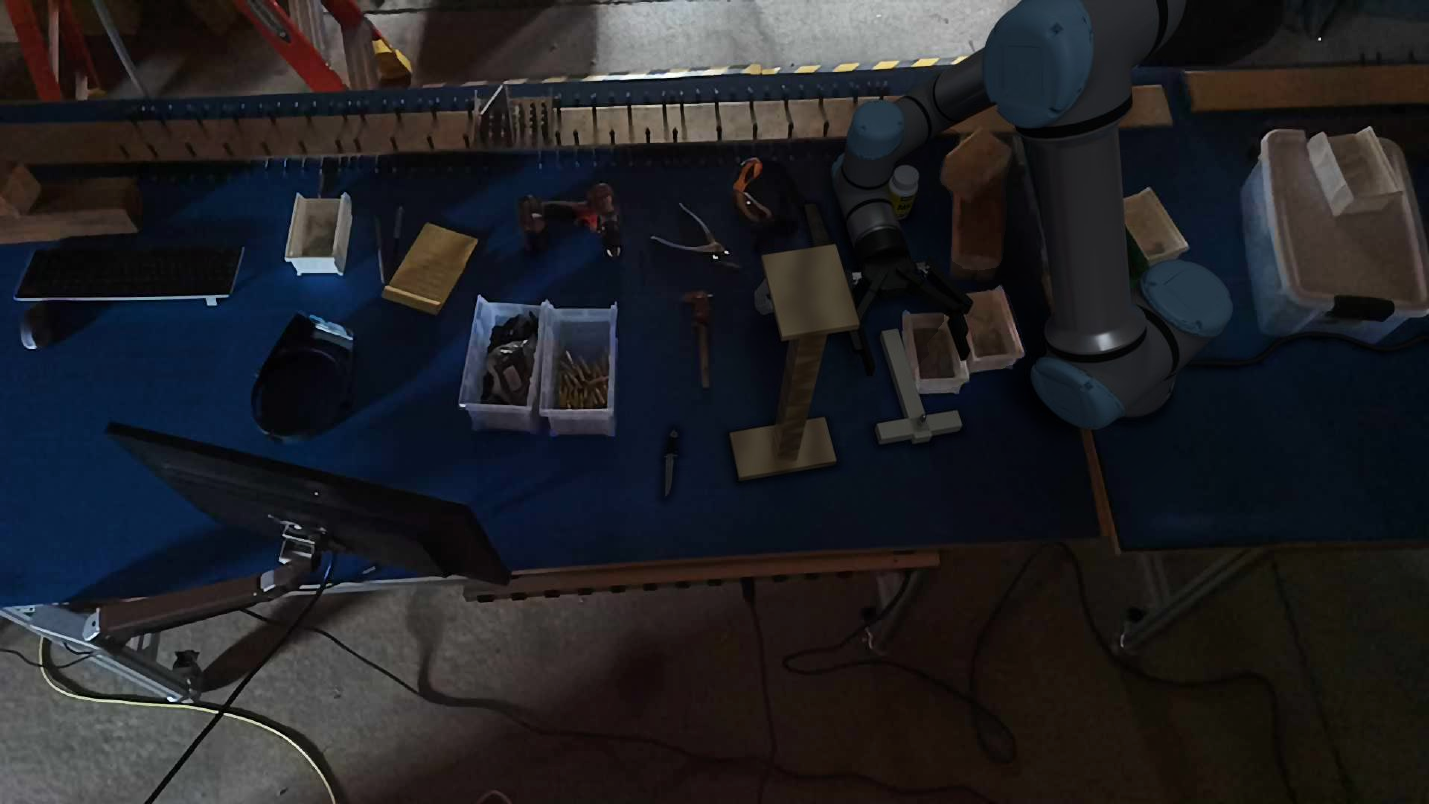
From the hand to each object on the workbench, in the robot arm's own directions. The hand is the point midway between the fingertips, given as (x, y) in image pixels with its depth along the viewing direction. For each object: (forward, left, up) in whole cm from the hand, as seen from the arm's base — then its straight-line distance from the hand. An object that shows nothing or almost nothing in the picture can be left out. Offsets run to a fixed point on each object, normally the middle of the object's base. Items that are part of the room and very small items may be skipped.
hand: (918, 364), depth 120 cm
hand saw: (+5, -24, -9) cm, 27 cm away
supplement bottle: (-8, -33, -9) cm, 36 cm away
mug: (+14, -15, -9) cm, 23 cm away
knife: (+36, +5, -9) cm, 37 cm away
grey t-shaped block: (0, -1, -9) cm, 9 cm away
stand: (+20, +5, -9) cm, 22 cm away
